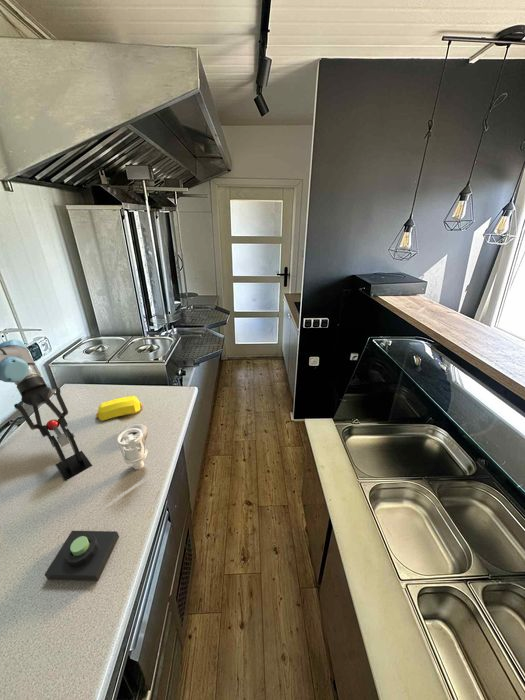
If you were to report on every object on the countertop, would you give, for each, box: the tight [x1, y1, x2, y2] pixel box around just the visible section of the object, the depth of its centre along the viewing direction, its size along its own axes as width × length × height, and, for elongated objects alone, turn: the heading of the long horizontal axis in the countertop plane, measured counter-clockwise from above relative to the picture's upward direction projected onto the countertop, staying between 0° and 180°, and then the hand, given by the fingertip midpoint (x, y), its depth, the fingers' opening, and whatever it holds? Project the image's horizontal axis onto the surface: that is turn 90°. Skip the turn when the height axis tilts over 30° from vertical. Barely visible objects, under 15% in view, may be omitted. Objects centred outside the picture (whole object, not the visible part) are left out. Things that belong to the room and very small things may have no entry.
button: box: [70, 536, 90, 556], centre depth 68 cm, size 4×4×2 cm
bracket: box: [50, 428, 93, 482], centre depth 92 cm, size 10×8×14 cm
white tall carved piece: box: [117, 428, 149, 470], centre depth 91 cm, size 7×7×15 cm
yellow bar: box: [95, 395, 143, 421], centre depth 119 cm, size 18×7×8 cm
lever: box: [45, 419, 70, 448], centre depth 93 cm, size 14×4×4 cm, turn 48°
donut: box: [118, 423, 148, 442], centre depth 106 cm, size 10×4×10 cm
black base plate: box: [44, 530, 120, 582], centre depth 69 cm, size 12×10×4 cm
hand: (60, 439), depth 96 cm, fingers closed on lever, 4 cm apart
